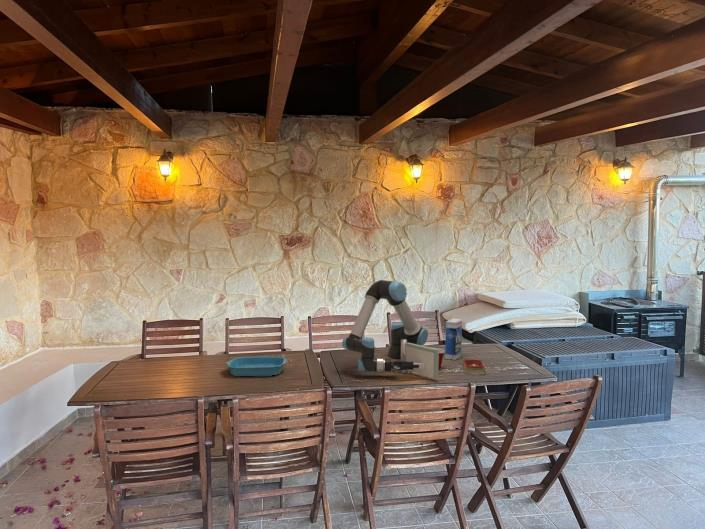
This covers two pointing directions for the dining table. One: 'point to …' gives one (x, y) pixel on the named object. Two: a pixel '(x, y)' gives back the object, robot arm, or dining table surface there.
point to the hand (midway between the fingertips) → (424, 365)
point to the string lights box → (453, 339)
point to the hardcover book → (473, 366)
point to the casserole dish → (256, 366)
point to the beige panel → (423, 359)
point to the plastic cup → (440, 356)
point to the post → (403, 354)
